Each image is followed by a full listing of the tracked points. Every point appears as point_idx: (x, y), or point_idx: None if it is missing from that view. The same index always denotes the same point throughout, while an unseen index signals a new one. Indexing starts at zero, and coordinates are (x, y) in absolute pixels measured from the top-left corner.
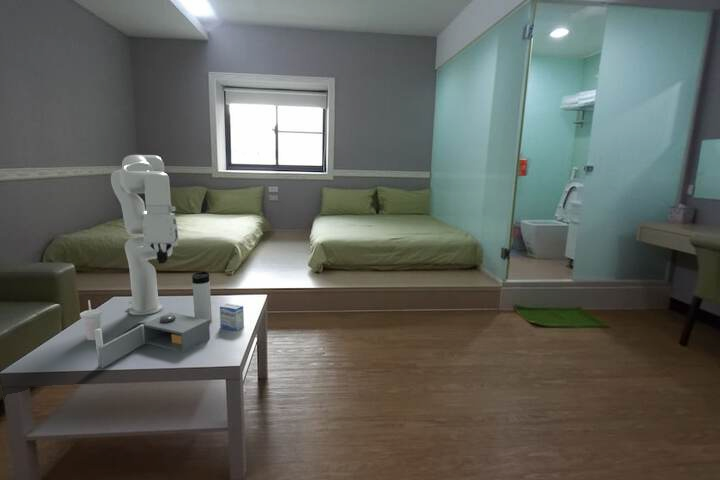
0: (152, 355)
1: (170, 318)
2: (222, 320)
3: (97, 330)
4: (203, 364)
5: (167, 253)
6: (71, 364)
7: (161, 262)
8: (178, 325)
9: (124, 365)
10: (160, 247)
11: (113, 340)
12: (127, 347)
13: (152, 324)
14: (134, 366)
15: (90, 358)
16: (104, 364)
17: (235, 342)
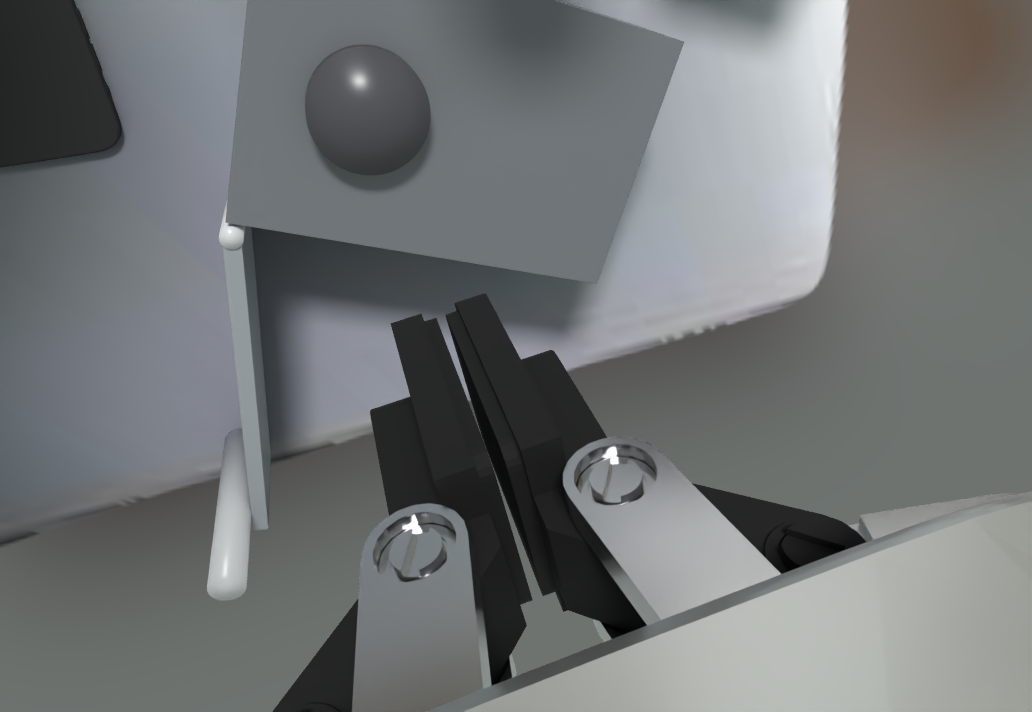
0: (407, 297)
1: (406, 129)
2: None
3: (235, 593)
4: (693, 313)
5: (598, 425)
6: (61, 464)
7: (487, 448)
8: (511, 188)
9: (342, 405)
10: (480, 602)
11: (254, 457)
12: (258, 334)
13: (306, 211)
14: (397, 400)
15: (92, 399)
16: (270, 457)
17: (790, 58)
